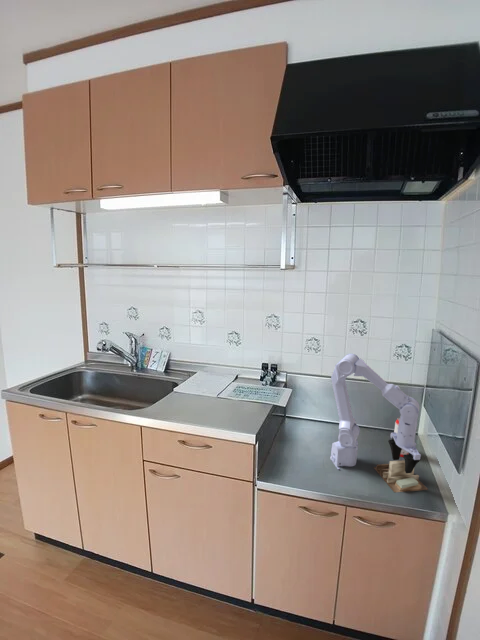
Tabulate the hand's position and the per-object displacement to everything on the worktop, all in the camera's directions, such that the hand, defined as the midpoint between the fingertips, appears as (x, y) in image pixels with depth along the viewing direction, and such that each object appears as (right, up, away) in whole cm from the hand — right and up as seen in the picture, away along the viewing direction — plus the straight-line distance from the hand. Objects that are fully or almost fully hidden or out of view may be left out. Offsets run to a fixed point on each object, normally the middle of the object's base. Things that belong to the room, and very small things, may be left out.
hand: (401, 465), depth 122 cm
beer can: (+8, -3, +18) cm, 20 cm away
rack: (0, -6, +2) cm, 6 cm away
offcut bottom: (+1, -6, -3) cm, 7 cm away
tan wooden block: (0, -5, +1) cm, 5 cm away
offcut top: (0, -5, -4) cm, 6 cm away
